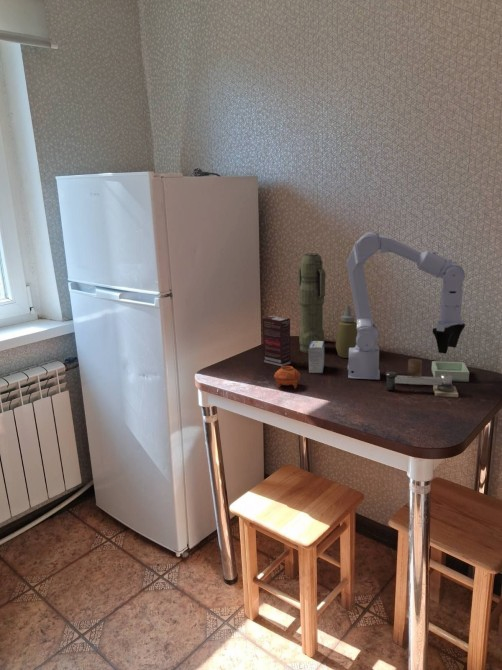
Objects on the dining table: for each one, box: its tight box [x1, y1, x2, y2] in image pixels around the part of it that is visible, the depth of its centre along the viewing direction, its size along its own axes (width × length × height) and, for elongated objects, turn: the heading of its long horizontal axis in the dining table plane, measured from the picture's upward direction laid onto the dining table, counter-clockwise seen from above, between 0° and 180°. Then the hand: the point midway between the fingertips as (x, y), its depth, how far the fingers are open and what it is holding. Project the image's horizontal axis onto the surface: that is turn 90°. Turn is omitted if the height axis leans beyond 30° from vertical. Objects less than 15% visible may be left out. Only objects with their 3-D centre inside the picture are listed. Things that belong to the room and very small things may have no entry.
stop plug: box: [407, 358, 423, 386], centre depth 159 cm, size 4×4×7 cm
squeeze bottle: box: [335, 304, 357, 359], centre depth 186 cm, size 8×8×18 cm
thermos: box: [298, 253, 326, 354], centre depth 192 cm, size 9×12×35 cm
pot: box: [273, 365, 301, 389], centre depth 160 cm, size 8×8×7 cm
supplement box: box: [262, 314, 292, 367], centre depth 181 cm, size 9×5×16 cm, turn 46°
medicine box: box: [308, 340, 325, 374], centre depth 174 cm, size 8×4×9 cm, turn 168°
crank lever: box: [385, 371, 453, 391], centre depth 152 cm, size 18×3×5 cm, turn 77°
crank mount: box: [398, 374, 459, 398], centre depth 157 cm, size 16×16×2 cm
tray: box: [431, 360, 470, 383], centre depth 165 cm, size 10×10×3 cm
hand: (447, 349), depth 158 cm, fingers open, 7 cm apart
